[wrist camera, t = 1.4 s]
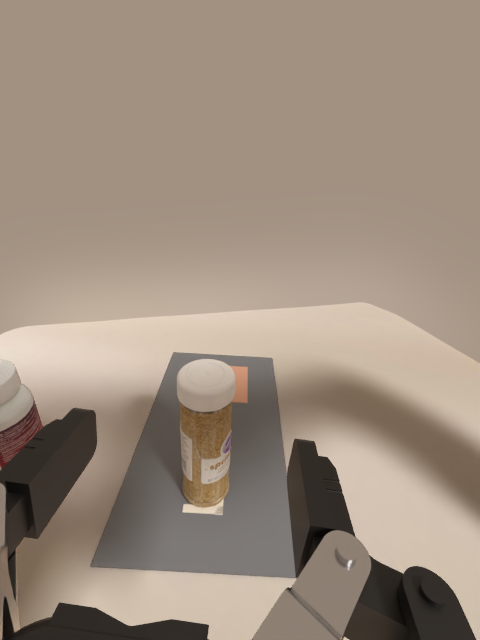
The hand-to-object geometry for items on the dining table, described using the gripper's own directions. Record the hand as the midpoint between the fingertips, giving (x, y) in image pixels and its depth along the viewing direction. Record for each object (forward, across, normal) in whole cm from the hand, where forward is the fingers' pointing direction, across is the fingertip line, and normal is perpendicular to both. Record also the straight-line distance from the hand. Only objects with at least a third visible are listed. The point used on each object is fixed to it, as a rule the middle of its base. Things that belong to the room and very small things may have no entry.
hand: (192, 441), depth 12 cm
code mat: (+21, +1, +16) cm, 26 cm away
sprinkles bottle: (+13, 0, +17) cm, 21 cm away
